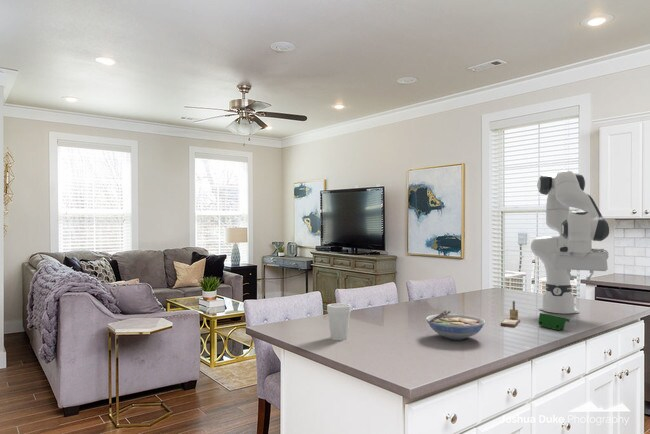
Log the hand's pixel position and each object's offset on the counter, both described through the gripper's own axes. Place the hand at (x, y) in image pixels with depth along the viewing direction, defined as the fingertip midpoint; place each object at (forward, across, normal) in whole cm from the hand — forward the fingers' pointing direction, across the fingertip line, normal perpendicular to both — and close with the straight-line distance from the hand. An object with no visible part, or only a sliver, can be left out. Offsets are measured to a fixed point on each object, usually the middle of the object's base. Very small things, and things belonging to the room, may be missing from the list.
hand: (580, 280), depth 197 cm
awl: (+21, +28, -8) cm, 36 cm away
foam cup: (+21, +81, +66) cm, 107 cm away
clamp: (+22, +10, 0) cm, 24 cm away
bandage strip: (+21, +28, +2) cm, 35 cm away
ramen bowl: (+21, +42, +41) cm, 62 cm away
